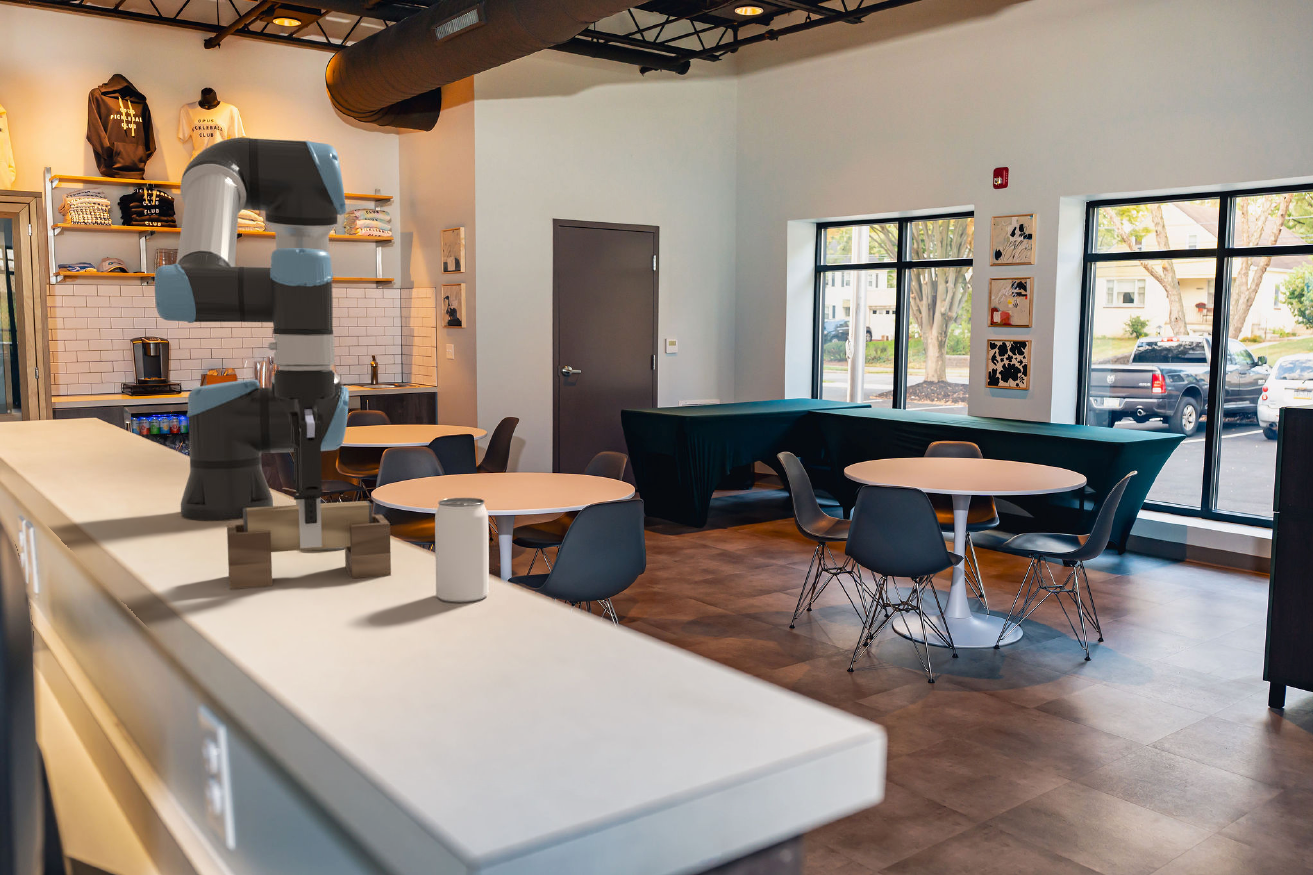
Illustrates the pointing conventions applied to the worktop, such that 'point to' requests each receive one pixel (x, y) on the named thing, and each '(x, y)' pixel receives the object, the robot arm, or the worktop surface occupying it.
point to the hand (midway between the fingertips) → (309, 543)
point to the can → (462, 550)
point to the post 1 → (248, 557)
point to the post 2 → (369, 549)
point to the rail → (287, 523)
